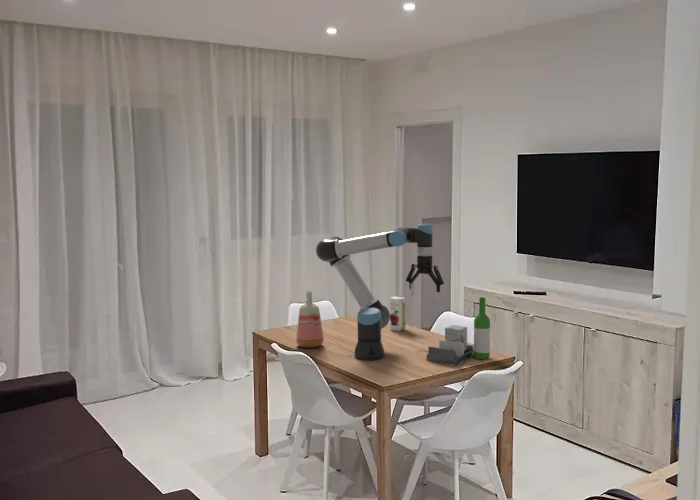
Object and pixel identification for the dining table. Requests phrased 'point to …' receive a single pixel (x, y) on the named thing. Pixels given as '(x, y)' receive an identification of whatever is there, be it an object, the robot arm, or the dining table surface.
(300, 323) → the vase
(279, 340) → the dining table surface
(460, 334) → the ink box
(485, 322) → the wine bottle
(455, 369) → the dining table surface
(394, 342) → the dining table surface
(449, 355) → the dark grey tray
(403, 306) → the juice carton
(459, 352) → the block
